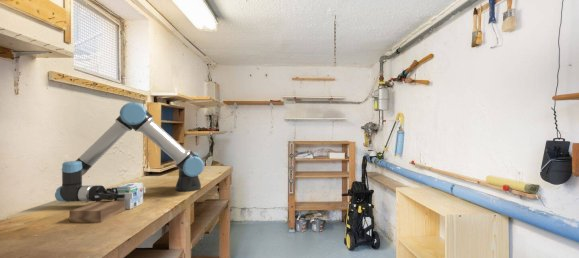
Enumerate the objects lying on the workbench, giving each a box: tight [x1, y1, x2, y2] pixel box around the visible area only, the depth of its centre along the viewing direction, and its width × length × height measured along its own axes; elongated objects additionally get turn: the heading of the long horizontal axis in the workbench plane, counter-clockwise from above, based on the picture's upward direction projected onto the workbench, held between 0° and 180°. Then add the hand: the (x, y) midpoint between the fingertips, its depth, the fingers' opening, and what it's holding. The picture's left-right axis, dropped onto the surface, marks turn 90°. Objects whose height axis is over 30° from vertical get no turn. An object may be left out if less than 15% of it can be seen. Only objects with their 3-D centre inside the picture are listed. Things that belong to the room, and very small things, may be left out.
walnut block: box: [69, 200, 126, 223], centre depth 114 cm, size 13×15×5 cm
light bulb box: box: [116, 182, 144, 210], centre depth 128 cm, size 11×7×11 cm, turn 179°
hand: (139, 192), depth 129 cm, fingers closed on light bulb box, 11 cm apart
